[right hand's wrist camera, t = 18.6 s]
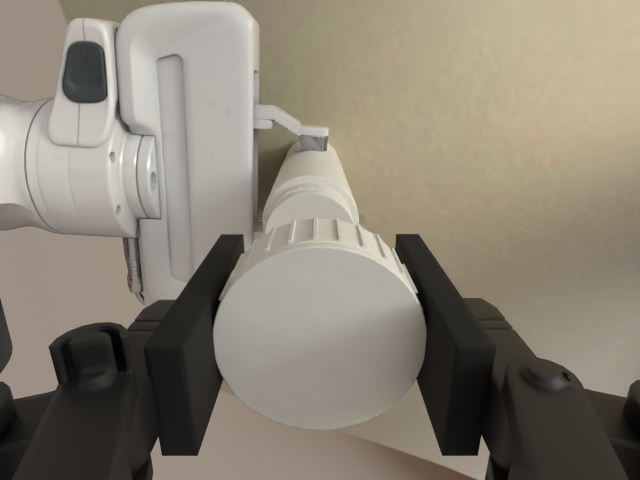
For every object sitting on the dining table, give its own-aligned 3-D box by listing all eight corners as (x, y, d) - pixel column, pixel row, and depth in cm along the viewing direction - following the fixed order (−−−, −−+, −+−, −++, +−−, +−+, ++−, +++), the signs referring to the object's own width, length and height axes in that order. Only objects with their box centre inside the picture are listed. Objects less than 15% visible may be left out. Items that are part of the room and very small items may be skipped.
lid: (397, 382, 13) (412, 438, 11) (228, 372, 13) (211, 427, 11) (424, 221, 11) (448, 252, 9) (227, 208, 11) (206, 235, 9)
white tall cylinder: (281, 139, 33) (249, 189, 16) (337, 134, 33) (361, 180, 16) (287, 193, 34) (263, 289, 18) (340, 189, 34) (365, 281, 18)
